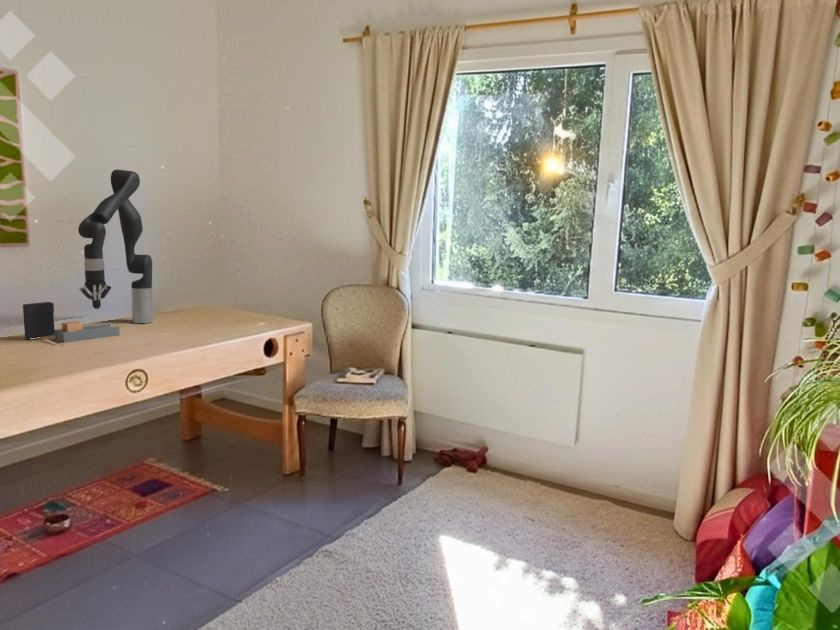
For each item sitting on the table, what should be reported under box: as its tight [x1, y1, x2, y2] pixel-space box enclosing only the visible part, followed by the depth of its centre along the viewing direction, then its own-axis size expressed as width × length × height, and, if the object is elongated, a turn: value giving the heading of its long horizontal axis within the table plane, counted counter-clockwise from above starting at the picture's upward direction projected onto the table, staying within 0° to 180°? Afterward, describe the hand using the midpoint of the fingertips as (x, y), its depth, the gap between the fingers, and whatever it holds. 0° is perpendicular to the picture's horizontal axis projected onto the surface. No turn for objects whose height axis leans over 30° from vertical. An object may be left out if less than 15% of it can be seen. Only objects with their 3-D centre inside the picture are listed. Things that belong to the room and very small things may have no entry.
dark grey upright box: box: [22, 301, 55, 340], centre depth 280 cm, size 11×4×15 cm, turn 145°
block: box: [61, 320, 83, 332], centre depth 276 cm, size 6×6×7 cm
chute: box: [54, 323, 120, 346], centre depth 282 cm, size 12×26×5 cm, turn 140°
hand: (96, 308), depth 283 cm, fingers closed
